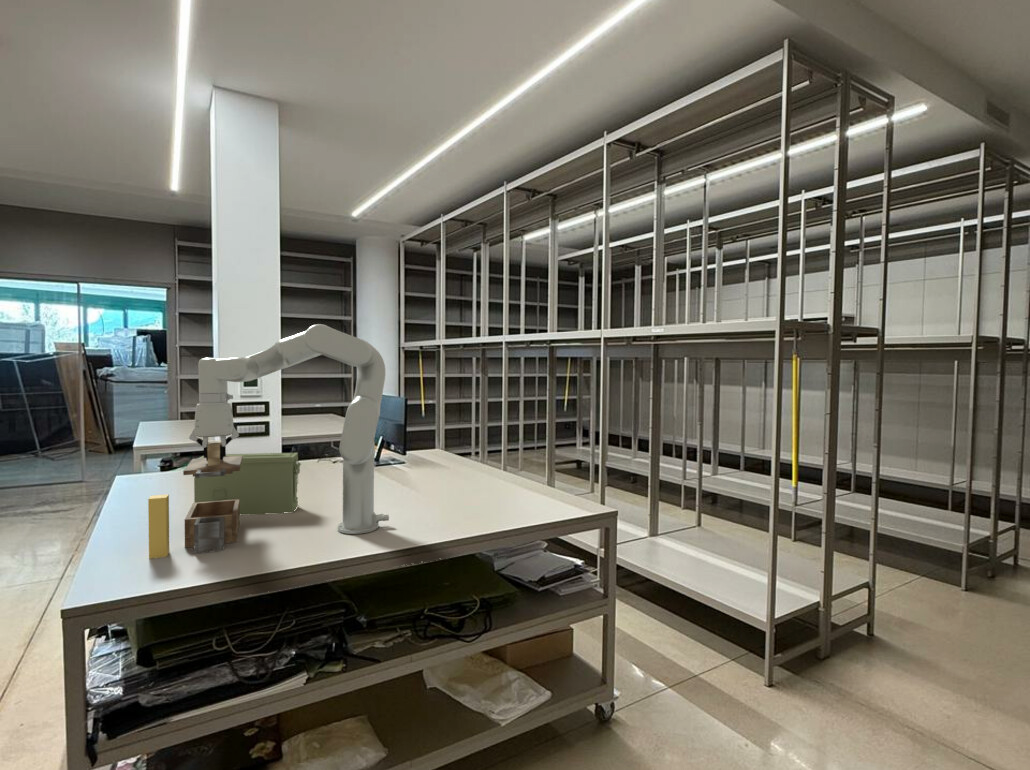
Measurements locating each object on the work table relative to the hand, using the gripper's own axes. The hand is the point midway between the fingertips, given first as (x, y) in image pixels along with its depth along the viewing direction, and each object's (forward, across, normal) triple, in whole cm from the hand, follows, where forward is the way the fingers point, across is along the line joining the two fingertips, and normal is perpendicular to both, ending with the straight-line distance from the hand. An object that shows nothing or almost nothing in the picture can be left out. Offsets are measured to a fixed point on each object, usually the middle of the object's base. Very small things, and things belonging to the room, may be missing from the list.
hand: (215, 459), depth 163 cm
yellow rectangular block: (+23, +13, +14) cm, 30 cm away
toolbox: (+23, +1, +3) cm, 23 cm away
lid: (+3, 0, +3) cm, 4 cm away
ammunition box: (+23, -8, -25) cm, 35 cm away
